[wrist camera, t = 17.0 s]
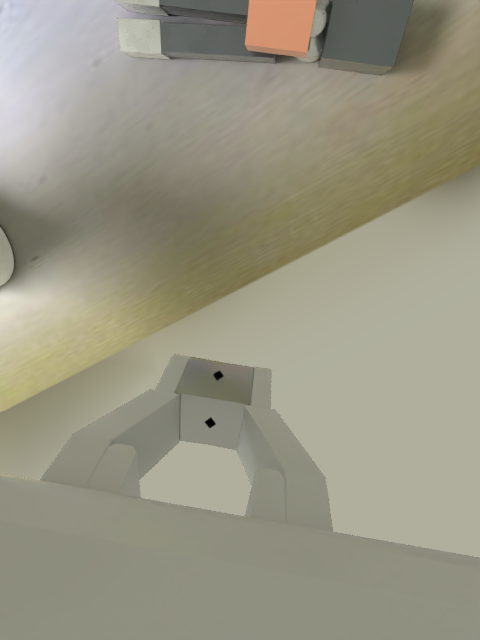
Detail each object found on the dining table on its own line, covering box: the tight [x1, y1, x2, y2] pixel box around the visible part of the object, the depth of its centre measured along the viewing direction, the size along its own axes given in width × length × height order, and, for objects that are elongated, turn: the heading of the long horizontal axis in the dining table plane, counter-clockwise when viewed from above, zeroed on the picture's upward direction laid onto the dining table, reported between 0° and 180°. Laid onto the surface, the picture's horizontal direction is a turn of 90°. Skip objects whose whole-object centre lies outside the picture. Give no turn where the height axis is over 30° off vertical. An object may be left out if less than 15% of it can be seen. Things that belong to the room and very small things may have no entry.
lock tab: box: [245, 0, 317, 58], centre depth 24 cm, size 5×5×2 cm
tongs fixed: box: [115, 0, 414, 75], centre depth 27 cm, size 25×4×4 cm, turn 83°
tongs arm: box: [117, 3, 326, 63], centre depth 28 cm, size 18×3×4 cm, turn 86°
